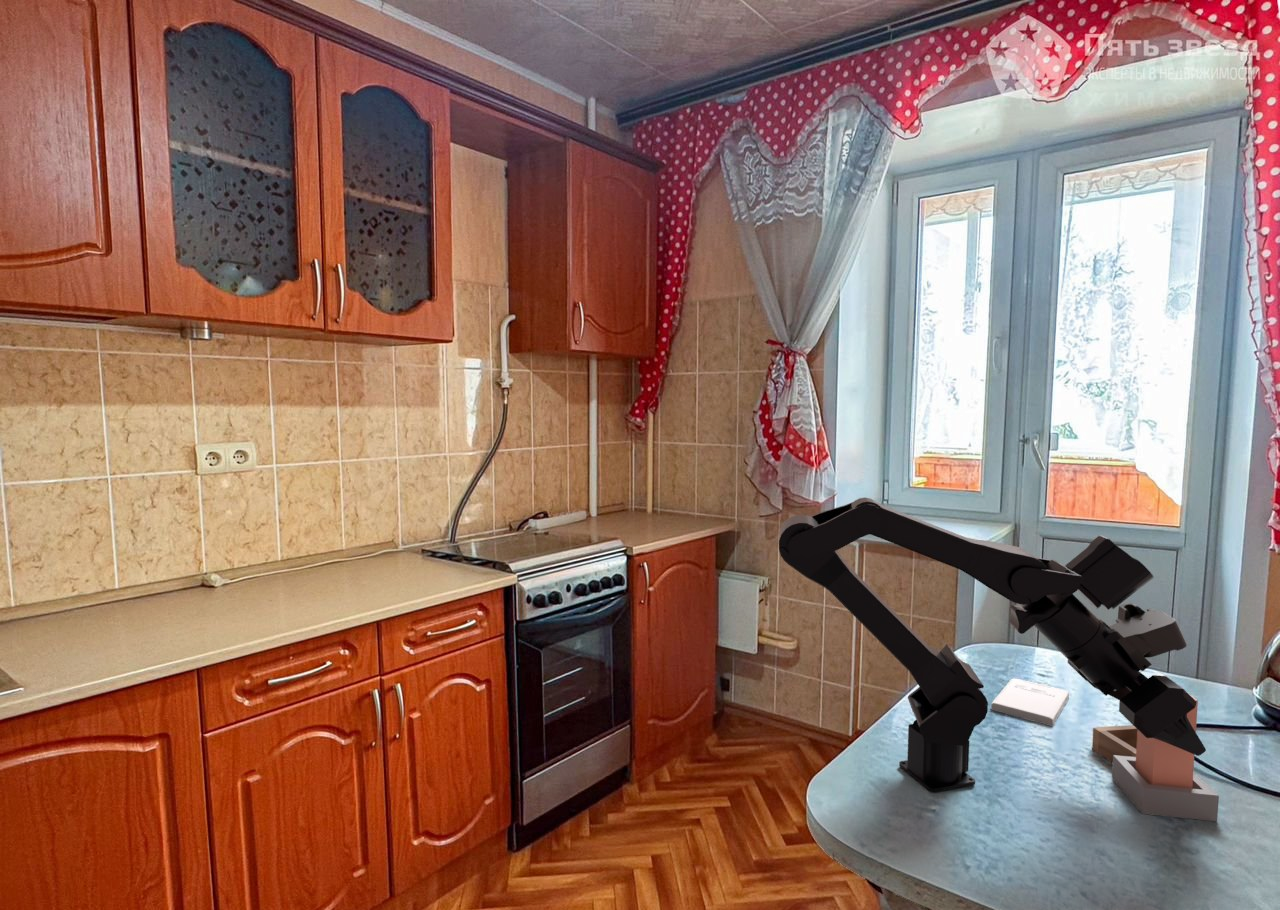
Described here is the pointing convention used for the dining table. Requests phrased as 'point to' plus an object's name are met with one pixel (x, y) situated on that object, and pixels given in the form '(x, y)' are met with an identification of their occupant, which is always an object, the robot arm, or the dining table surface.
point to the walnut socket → (1115, 741)
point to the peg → (1165, 760)
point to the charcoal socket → (1165, 794)
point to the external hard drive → (1031, 701)
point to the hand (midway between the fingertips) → (1178, 732)
